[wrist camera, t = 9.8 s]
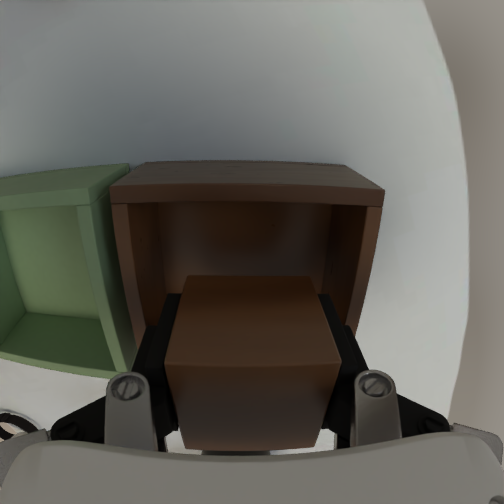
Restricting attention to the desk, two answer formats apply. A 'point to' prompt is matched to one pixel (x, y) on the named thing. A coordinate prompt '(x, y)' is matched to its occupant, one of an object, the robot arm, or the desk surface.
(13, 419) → the watch
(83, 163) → the desk surface
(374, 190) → the walnut bin
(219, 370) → the walnut block
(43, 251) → the sage bin
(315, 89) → the desk surface
